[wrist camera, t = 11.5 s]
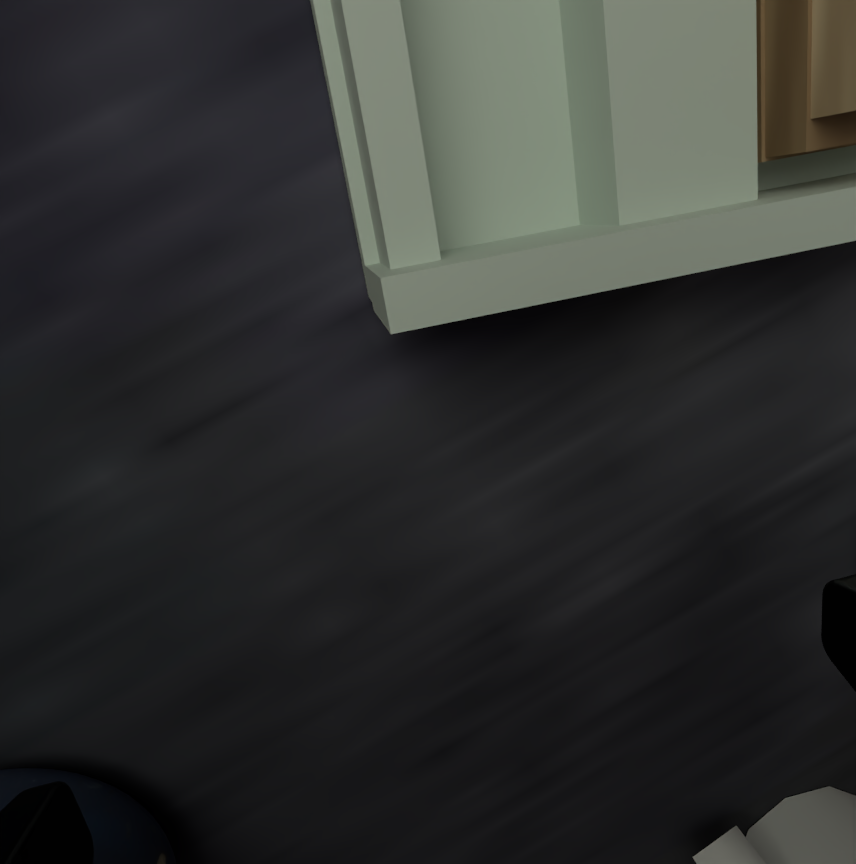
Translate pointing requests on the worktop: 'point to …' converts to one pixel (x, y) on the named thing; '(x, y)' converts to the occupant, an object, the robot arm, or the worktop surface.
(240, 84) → the worktop surface
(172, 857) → the canister
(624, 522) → the worktop surface
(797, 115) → the offcut stack
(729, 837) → the fire extinguisher
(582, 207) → the rack
